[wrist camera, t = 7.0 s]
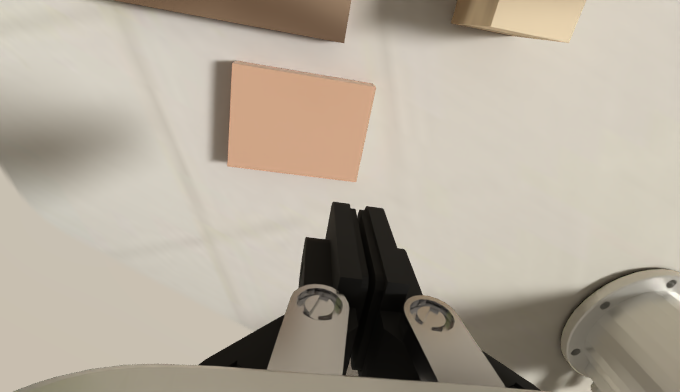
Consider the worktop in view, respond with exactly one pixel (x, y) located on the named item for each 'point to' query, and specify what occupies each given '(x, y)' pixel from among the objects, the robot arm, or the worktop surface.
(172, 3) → the board
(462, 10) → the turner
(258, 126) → the tile
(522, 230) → the worktop surface
